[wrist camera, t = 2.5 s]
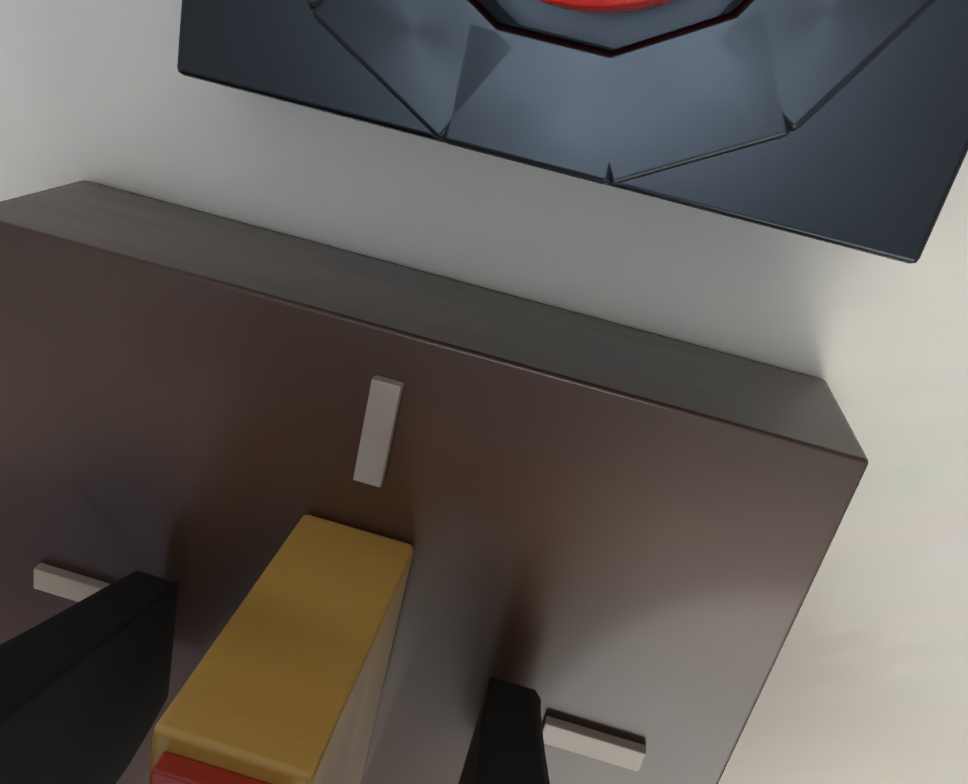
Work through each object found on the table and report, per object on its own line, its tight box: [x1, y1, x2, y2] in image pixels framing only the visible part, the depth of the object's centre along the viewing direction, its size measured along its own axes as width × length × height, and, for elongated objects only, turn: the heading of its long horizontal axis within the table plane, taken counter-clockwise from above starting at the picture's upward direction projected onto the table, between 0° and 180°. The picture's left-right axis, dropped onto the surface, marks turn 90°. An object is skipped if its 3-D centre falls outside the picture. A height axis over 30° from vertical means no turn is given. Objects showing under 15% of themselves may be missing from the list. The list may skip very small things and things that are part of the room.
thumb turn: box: [149, 515, 413, 784], centre depth 10 cm, size 5×2×4 cm, turn 167°
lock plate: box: [0, 181, 868, 784], centre depth 13 cm, size 10×11×3 cm
